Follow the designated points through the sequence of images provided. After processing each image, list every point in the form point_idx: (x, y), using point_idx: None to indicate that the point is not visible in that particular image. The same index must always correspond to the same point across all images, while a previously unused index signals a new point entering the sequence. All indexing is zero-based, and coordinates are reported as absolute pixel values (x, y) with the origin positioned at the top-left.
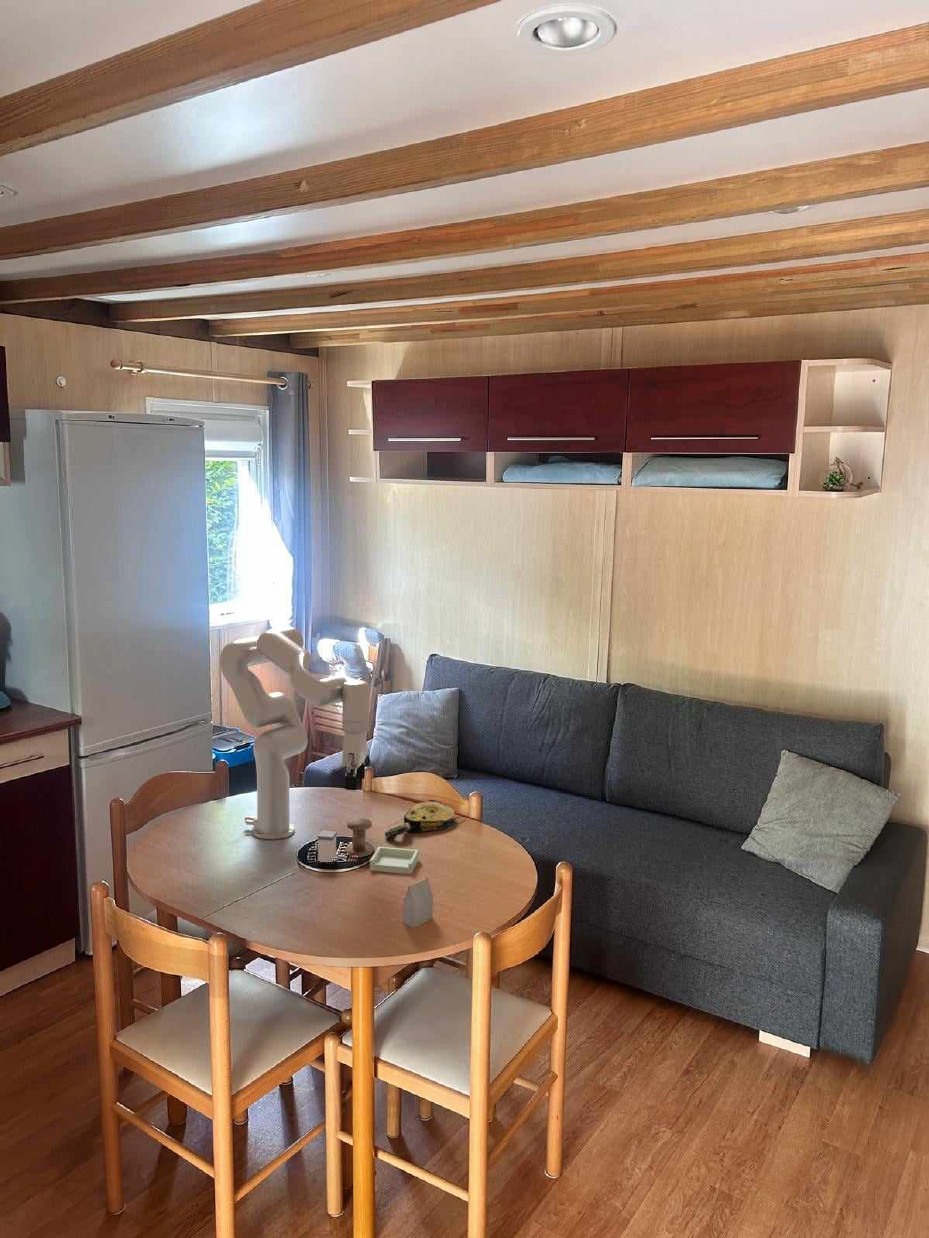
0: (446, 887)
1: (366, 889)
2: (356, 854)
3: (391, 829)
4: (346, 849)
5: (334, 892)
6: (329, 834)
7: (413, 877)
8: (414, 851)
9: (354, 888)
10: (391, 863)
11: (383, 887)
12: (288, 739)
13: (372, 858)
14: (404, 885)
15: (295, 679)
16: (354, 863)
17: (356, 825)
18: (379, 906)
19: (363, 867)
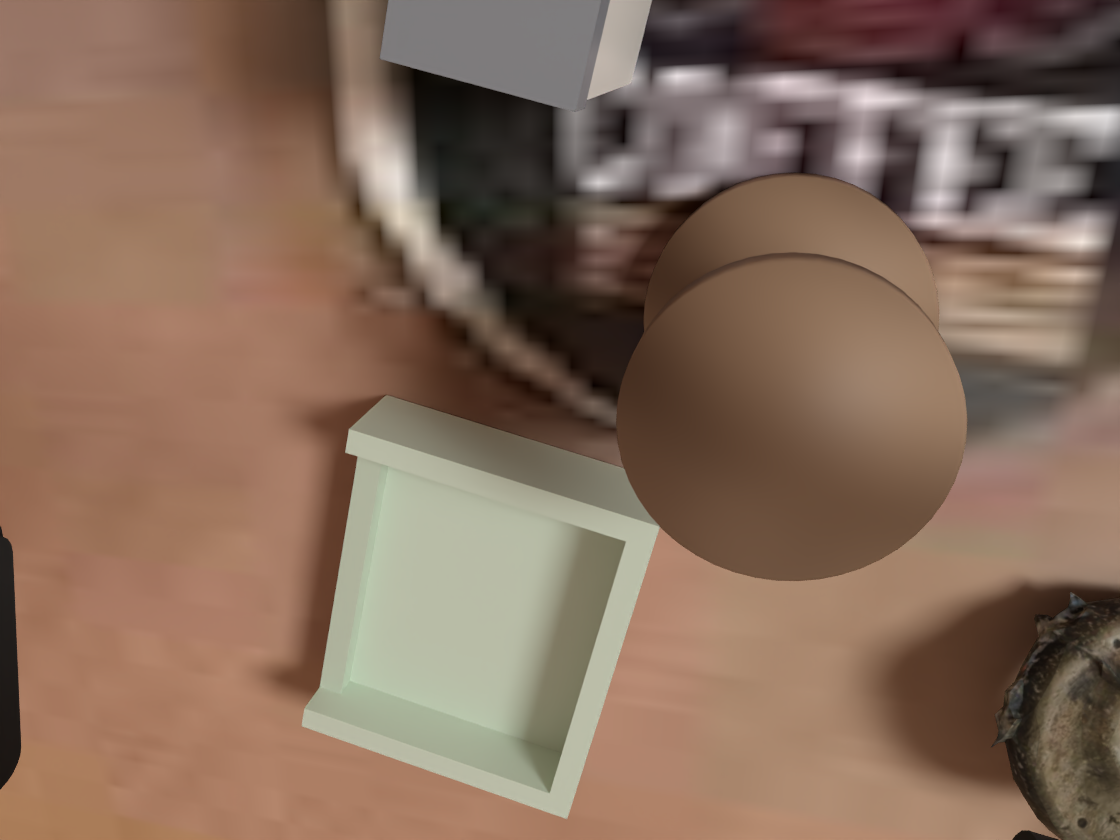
0: (170, 828)
1: (59, 351)
2: (647, 296)
3: (1108, 691)
4: (785, 194)
5: None
6: (473, 10)
7: (288, 679)
8: (550, 784)
9: (59, 262)
10: (450, 575)
11: (110, 471)
12: None
13: (383, 451)
14: (161, 607)
15: None
16: (524, 267)
17: (672, 390)
18: None
19: (441, 344)
